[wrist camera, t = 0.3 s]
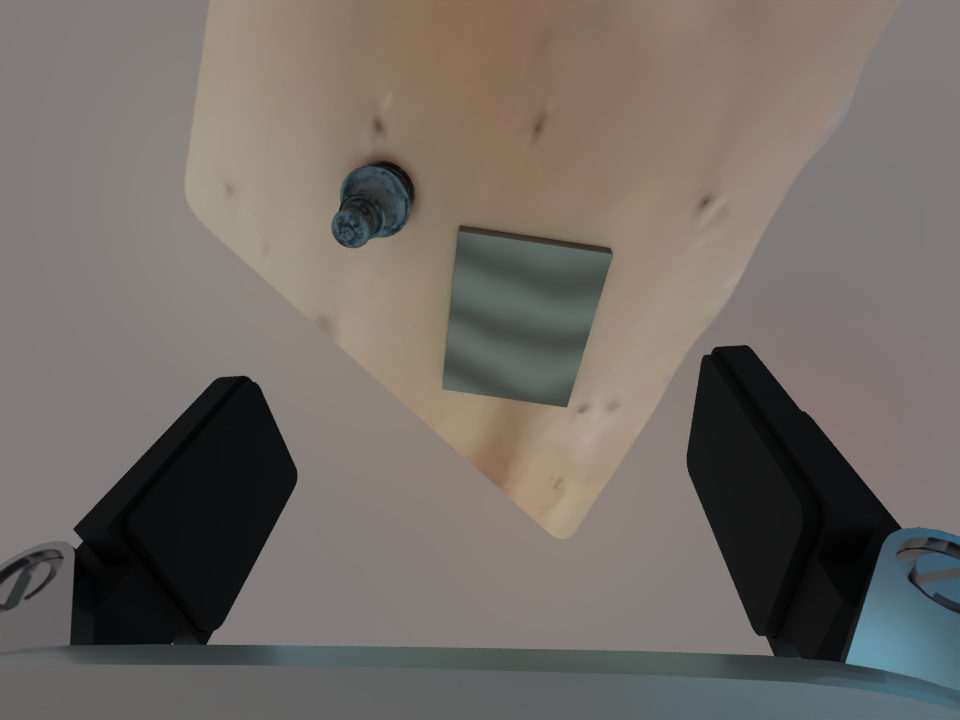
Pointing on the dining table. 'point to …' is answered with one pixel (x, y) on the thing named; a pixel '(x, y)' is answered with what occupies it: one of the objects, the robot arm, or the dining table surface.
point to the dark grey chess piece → (373, 204)
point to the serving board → (521, 314)
